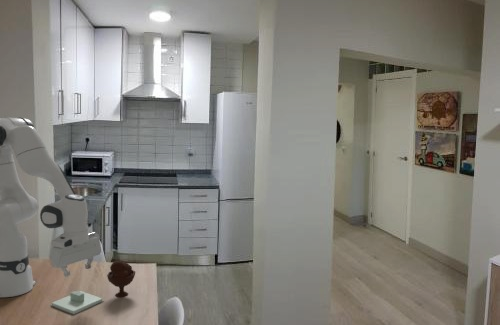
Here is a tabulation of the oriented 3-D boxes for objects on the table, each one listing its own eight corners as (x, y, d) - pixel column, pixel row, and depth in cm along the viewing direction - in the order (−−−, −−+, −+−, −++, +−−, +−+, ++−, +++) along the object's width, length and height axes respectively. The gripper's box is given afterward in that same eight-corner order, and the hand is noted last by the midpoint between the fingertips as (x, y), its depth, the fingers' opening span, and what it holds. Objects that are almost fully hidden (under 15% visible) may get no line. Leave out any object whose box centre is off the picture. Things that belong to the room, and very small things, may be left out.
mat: (49, 306, 160) (49, 305, 160) (81, 294, 172) (81, 293, 172) (73, 316, 153) (73, 315, 152) (104, 302, 165) (104, 301, 164)
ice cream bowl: (127, 302, 165) (127, 266, 163) (102, 299, 167) (101, 263, 165) (140, 292, 175) (140, 257, 173) (115, 289, 177) (115, 255, 176)
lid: (51, 305, 160) (51, 295, 159) (80, 293, 171) (80, 283, 170) (73, 314, 153) (73, 303, 153) (102, 301, 164) (102, 291, 164)
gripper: (93, 229, 170) (94, 262, 171) (46, 242, 152) (48, 279, 154) (104, 232, 167) (105, 265, 168) (57, 245, 149) (59, 282, 150)
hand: (77, 272), depth 161 cm, fingers open, 8 cm apart
